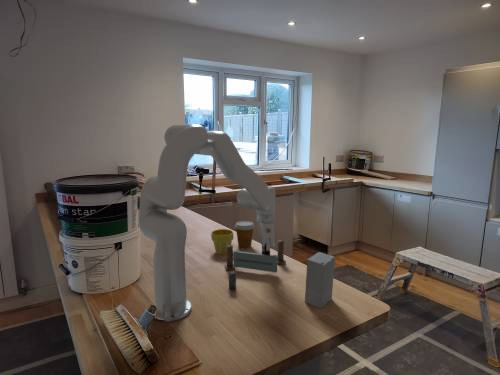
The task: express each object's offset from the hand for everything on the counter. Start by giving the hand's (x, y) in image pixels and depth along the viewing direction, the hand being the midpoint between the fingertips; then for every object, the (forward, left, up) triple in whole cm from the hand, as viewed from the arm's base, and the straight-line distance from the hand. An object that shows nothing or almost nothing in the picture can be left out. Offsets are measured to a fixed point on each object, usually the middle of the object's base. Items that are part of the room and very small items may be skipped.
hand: (265, 260), depth 133 cm
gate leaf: (-1, +5, -3) cm, 6 cm away
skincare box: (-28, -9, -5) cm, 30 cm away
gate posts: (-2, +4, -4) cm, 6 cm away
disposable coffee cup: (+30, +1, -5) cm, 30 cm away
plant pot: (+26, +13, -5) cm, 29 cm away
